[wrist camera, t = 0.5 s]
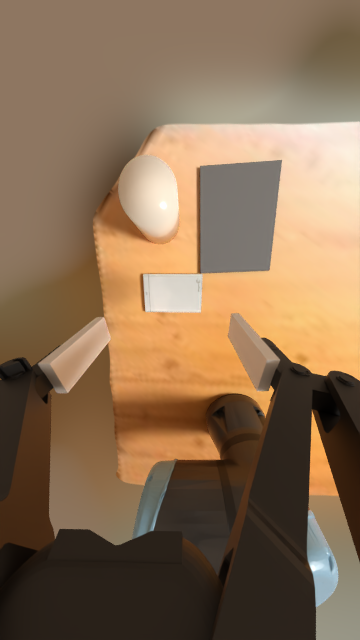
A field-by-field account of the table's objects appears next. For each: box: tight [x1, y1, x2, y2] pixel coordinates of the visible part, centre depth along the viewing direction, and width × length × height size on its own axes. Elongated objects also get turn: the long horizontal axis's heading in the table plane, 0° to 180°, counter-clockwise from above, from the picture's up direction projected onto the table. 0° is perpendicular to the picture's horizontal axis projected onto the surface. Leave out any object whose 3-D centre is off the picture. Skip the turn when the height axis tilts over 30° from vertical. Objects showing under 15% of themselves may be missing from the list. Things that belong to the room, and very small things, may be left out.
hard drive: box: [143, 274, 202, 313], centre depth 30 cm, size 2×8×12 cm
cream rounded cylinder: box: [118, 155, 180, 244], centre depth 23 cm, size 8×8×9 cm
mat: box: [200, 160, 282, 273], centre depth 27 cm, size 18×14×1 cm
